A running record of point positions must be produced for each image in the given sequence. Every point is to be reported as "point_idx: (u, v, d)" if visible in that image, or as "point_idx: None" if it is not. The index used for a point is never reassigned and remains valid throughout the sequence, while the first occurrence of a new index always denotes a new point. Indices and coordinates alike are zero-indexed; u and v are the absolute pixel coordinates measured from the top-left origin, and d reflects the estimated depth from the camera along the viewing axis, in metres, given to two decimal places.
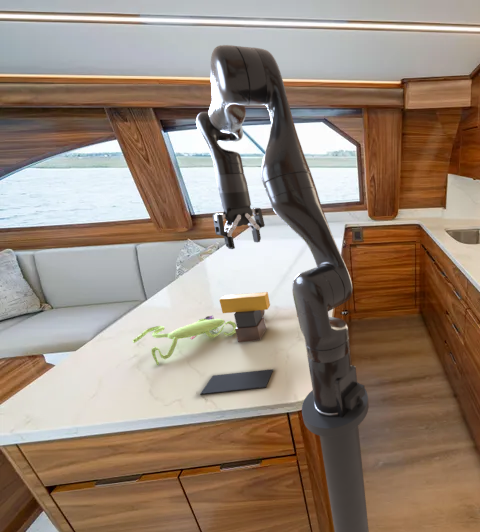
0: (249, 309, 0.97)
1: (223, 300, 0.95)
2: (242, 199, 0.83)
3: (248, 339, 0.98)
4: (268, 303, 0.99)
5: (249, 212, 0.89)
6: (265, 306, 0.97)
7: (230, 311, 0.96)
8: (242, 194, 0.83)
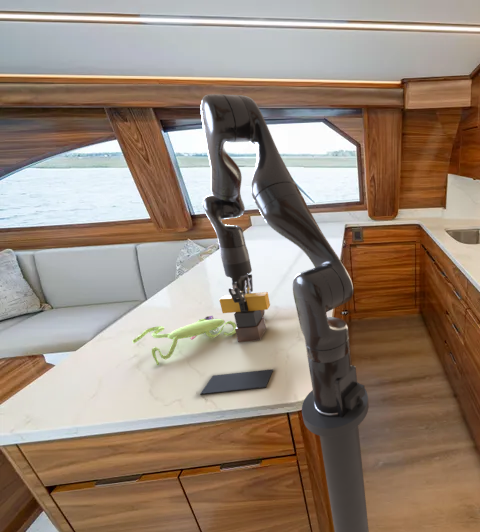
0: (249, 309, 0.97)
1: (223, 300, 0.95)
2: (249, 266, 0.94)
3: (248, 339, 0.98)
4: (268, 303, 0.99)
5: (247, 276, 0.98)
6: (265, 306, 0.97)
7: (230, 311, 0.96)
8: (249, 262, 0.94)
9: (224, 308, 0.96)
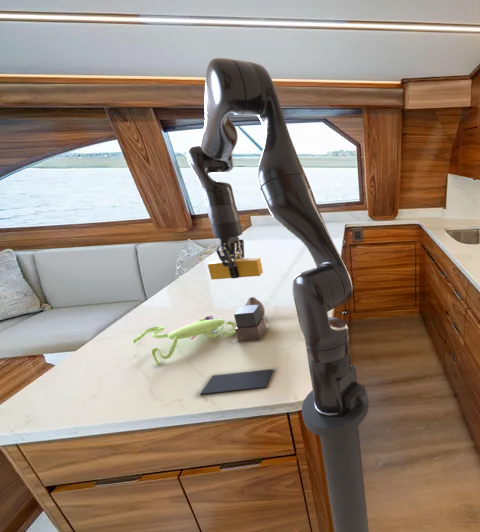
0: (240, 275, 0.90)
1: (211, 265, 0.88)
2: (239, 227, 0.87)
3: (248, 339, 0.98)
4: (260, 269, 0.92)
5: (237, 239, 0.91)
6: (257, 272, 0.90)
7: (219, 277, 0.89)
8: (239, 222, 0.87)
9: (213, 274, 0.89)
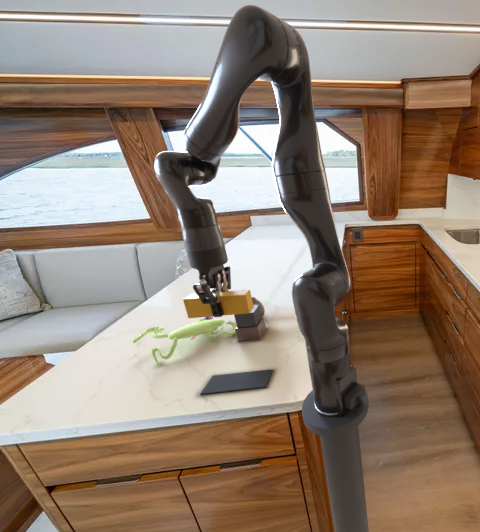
0: (224, 313, 0.72)
1: (188, 301, 0.70)
2: (223, 254, 0.68)
3: (248, 339, 0.98)
4: (250, 305, 0.73)
5: (222, 268, 0.73)
6: (246, 309, 0.72)
7: (199, 315, 0.71)
8: (223, 248, 0.68)
9: (190, 311, 0.71)
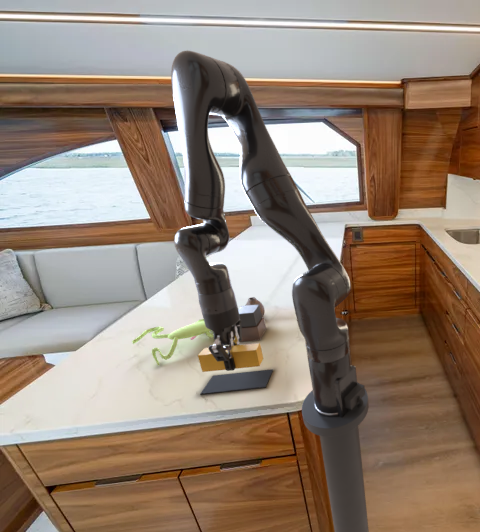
0: (236, 366, 0.76)
1: (202, 357, 0.74)
2: (236, 313, 0.73)
3: (248, 339, 0.98)
4: (260, 357, 0.78)
5: (234, 323, 0.77)
6: (257, 362, 0.77)
7: (212, 369, 0.76)
8: (236, 308, 0.73)
9: (204, 366, 0.75)
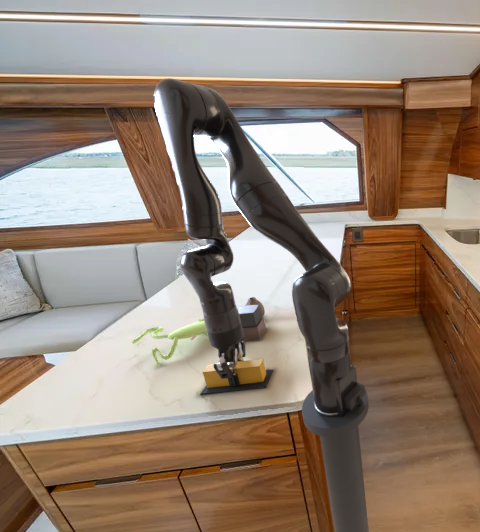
0: (240, 382, 0.78)
1: (207, 373, 0.76)
2: (240, 331, 0.75)
3: (248, 339, 0.98)
4: (263, 373, 0.80)
5: None
6: (260, 378, 0.78)
7: (216, 385, 0.77)
8: (240, 326, 0.75)
9: (209, 382, 0.77)
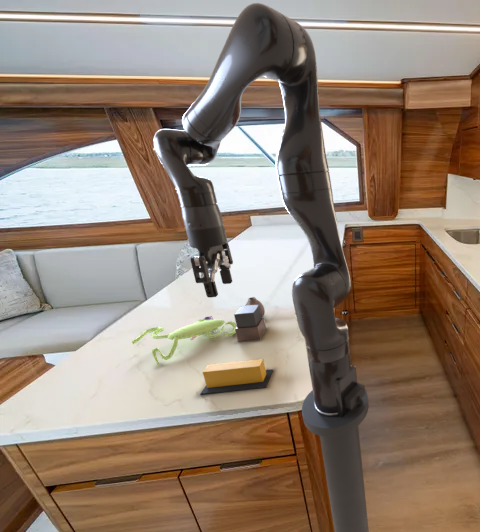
0: (240, 382, 0.78)
1: (207, 373, 0.76)
2: (223, 234, 0.69)
3: (248, 339, 0.98)
4: (263, 373, 0.80)
5: (221, 249, 0.73)
6: (260, 378, 0.78)
7: (216, 385, 0.77)
8: (222, 228, 0.69)
9: (209, 382, 0.77)
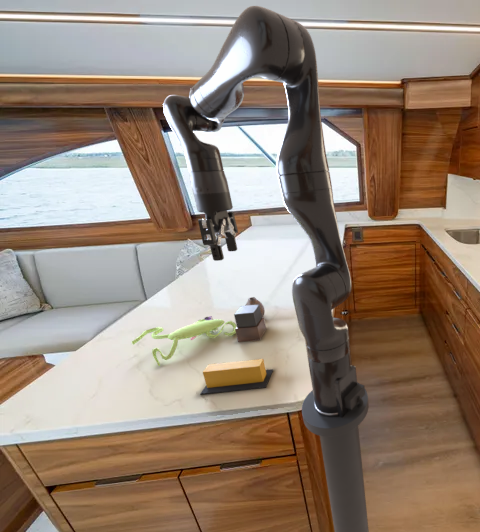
0: (240, 382, 0.78)
1: (207, 373, 0.76)
2: (229, 200, 0.72)
3: (248, 339, 0.98)
4: (263, 373, 0.80)
5: (227, 216, 0.76)
6: (260, 378, 0.78)
7: (216, 385, 0.77)
8: (228, 194, 0.72)
9: (209, 382, 0.77)
